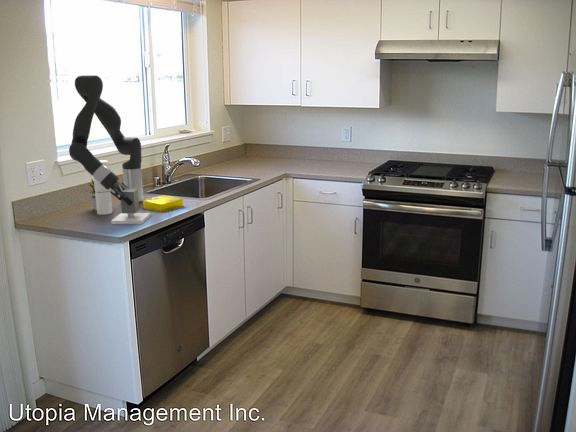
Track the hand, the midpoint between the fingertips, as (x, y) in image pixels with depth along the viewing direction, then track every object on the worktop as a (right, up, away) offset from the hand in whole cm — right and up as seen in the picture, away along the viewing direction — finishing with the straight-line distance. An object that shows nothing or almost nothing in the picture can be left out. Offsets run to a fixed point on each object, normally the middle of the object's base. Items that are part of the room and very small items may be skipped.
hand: (133, 202), depth 271 cm
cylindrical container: (-18, -5, +16) cm, 25 cm away
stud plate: (-2, -8, +2) cm, 8 cm away
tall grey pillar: (-2, -4, +1) cm, 5 cm away
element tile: (+8, -2, +26) cm, 28 cm away
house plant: (-25, -3, +25) cm, 35 cm away
